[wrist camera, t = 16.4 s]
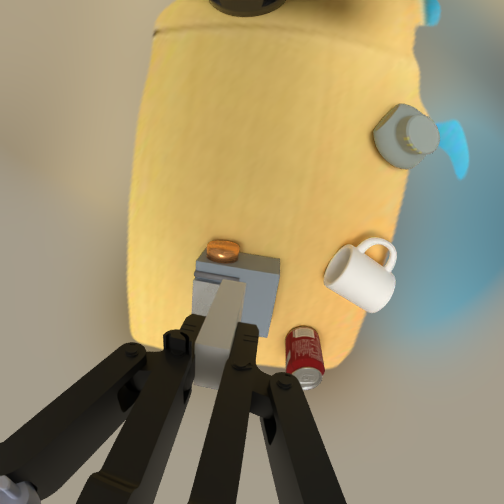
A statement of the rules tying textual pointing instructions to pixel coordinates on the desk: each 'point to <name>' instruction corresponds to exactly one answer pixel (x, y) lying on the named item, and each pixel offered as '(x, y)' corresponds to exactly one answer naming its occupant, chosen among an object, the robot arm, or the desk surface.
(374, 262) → the mug
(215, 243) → the pin
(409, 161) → the air freshener
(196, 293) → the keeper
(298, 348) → the soda can
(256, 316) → the grey box with lid
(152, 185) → the desk surface
